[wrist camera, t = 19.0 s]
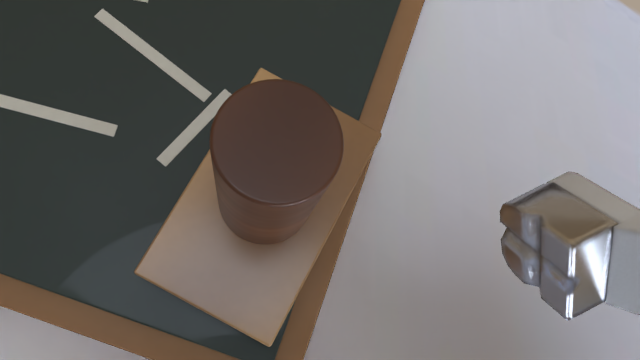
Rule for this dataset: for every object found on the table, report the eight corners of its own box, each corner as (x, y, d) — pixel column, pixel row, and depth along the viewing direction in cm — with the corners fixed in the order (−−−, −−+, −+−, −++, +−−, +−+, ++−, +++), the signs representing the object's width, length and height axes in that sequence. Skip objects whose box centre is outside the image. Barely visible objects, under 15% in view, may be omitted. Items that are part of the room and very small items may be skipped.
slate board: (-450, 143, 19) (-504, 129, 18) (-152, -240, 24) (-175, -274, 23) (285, 405, 20) (288, 411, 19) (426, -11, 25) (437, -31, 24)
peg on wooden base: (142, 277, 19) (78, 246, 12) (258, 86, 22) (270, -45, 14) (267, 345, 19) (287, 359, 12) (371, 148, 22) (445, 50, 14)
